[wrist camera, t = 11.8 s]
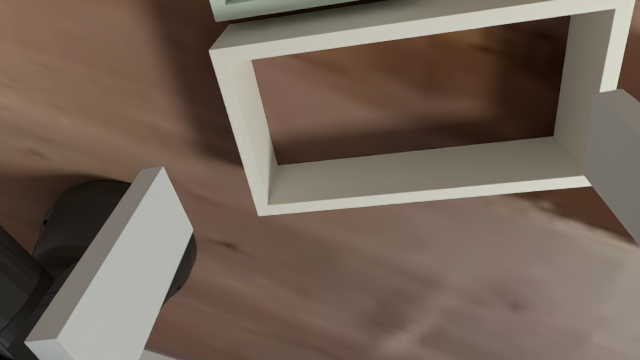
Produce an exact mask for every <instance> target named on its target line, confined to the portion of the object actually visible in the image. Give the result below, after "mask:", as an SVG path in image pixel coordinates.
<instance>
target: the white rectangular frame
mask: <svg viewBox="0 0 640 360" xmlns="http://www.w3.org/2000/svg"><path fill="white" fill-rule="evenodd" d="M634 4H635V0H386V1H380V2H373V3H367V4H360V5H354V6H347V7H340V8H334V9H327V10H321V11H314V12H308V13H301V14H294V15H288V16H281V17H275V18H268V19H262V20H255V21H248V22H242V23H235V24H229V25H228V26H227V28H226V29H225V30H224V31H223V33H222V34H221V35H220V37H219V38H218V39H217V40H216V42H215V43H214V44H213V45H212V47H211V48H210V49H209V53H210V57H211V60H212V63H213V67H214V70H215V73H216V77H217V80H218V83H219V87H220V90H221V93H222V97H223V100H224V103H225V106H226V110H227V113H228V116H229V120H230V123H231V126H232V130H233V133H234V136H235V140H236V143H237V146H238V150H239V153H240V156H241V160H242V163H243V166H244V170H245V173H246V176H247V180H248V183H249V186H250V190H251V193H252V196H253V199H254V203H255V206H256V209H257V213H258V216H265V215H276V214H287V213H298V212H309V211H320V210H331V209H342V208H353V207H364V206H375V205H386V204H397V203H408V202H419V201H430V200H441V199H452V198H463V197H474V196H485V195H496V194H507V193H518V192H529V191H540V190H551V189H562V188H573V187H584V186H592V185H591V184H590V182H589V181H588V180H587V179H586V177H585V176H584V175H583V169H584V161H585V152H586V144H587V136H588V128H589V120H590V112H591V104H592V95H593V94H594V93H600V92H606V91H612V90H616V87H617V83H618V78H619V74H620V69H621V64H622V60H623V55H624V50H625V46H626V41H627V36H628V32H629V27H630V22H631V18H632V13H633V8H634ZM566 15H571V18H570V25H569V32H568V39H567V46H566V53H565V60H564V67H563V74H562V81H561V88H560V95H559V102H558V109H557V116H556V123H555V130H554V136H551V137H542V138H533V139H523V140H514V141H504V142H495V143H485V144H476V145H466V146H457V147H448V148H438V149H429V150H419V151H410V152H400V153H391V154H382V155H372V156H363V157H353V158H344V159H334V160H325V161H316V162H306V163H297V164H287V165H277V161H276V157H275V153H274V149H273V145H272V141H271V137H270V133H269V129H268V125H267V121H266V117H265V113H264V110H263V106H262V102H261V98H260V94H259V90H258V86H257V82H256V78H255V74H254V70H253V66H252V62H251V60H252V59H259V58H267V57H274V56H281V55H288V54H295V53H302V52H309V51H316V50H324V49H331V48H338V47H345V46H352V45H359V44H366V43H374V42H381V41H388V40H395V39H402V38H409V37H416V36H424V35H431V34H438V33H445V32H452V31H459V30H466V29H473V28H481V27H488V26H495V25H502V24H509V23H516V22H523V21H531V20H538V19H545V18H552V17H559V16H566Z"/></svg>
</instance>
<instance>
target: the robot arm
mask: <svg viewBox="0 0 640 360" xmlns="http://www.w3.org/2000/svg"><path fill="white" fill-rule="evenodd" d="M583 175H584V176H585V177H586V179H587V180H588V181H589V182H590V184H591V185H592V186H593V188H594V189H595V190H596V191H597V193H598V194H599V195H600V196H601V198H602V199H603V200H604V201H605V203H606V204H607V205H608V207H609V208H610V209H611V210H612V212H613V213H614V214H615V215H616V217H617V218H618V219H619V220H620V222H621V223H622V224H623V226H624V227H625V228H626V229H627V231H628V232H629V233H630V234H631V236H632V237H633V238H634V239H635V241H636V242H637V243H638V245H639V246H640V102H638V101H637V100H636V99H635V98H633V97H632V96H631V95H629V94H628V93H627V92H626V91H624V90H623V89H618V90H612V91H606V92H600V93H594V94H593V95H592V104H591V112H590V120H589V128H588V136H587V144H586V152H585V161H584V169H583ZM192 232H193V228H192V226H191V224H190V221H189V219H188V217H187V215H186V213H185V211H184V209H183V207H182V205H181V203H180V201H179V198H178V196H177V194H176V192H175V190H174V188H173V186H172V184H171V182H170V180H169V178H168V176H167V173H166V171H165V169H164V167H163V166H161V167H155V168H149V169H143V170H141V171H140V173H139V174H138V176H137V177H136V179H135V180H134V182H133V183H132V184H131V185H130V184H126V183H122V182H115V181H92V182H86V183H82V184H79V185H77V186H74V187H72V188H70V189H69V190H67V191H66V192H65V193H63V194H62V195H61V196H60V197H59V199H58V200H57V201H56V202H55V203H54V204H53V205H52V207H51V208H50V209H49V210H48V212H47V213H46V215H45V217H44V219H43V221H42V224H41V228H40V238H39V239H38V241H37V243H36V245H35V248H34V251H33V253H32V255H30V254H29V253H28V252H27V251H26V250H25V249H24V248H23V247H22V246H21V245H20V244H19V243H18V242H17V241H16V240H15V239H14V238H13V237H12V236H11V235H10V234H9V233H8V232H7V231H6V230H5V229H4V228H3V227H2V226H1V225H0V360H139V358H140V356H141V353H142V351H143V348H144V346H145V344H146V341H147V339H148V337H149V334H150V332H151V330H152V327H153V325H154V322H155V320H156V318H157V315H158V313H159V311H160V309H161V308H162V307H163V306H164V304H165V303H166V302H167V301H168V299H169V298H170V297H172V296H173V295H175V294H176V293H177V292H178V291H179V290H180V289H181V288H182V287H183V285H184V284H185V283H186V281H187V279H188V277H189V275H190V273H191V270H192V268H193V265H194V263H195V259H196V254H197V248H196V241H195V238H194V235H193V233H192Z"/></svg>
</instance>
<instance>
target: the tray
mask: <svg viewBox="0 0 640 360" xmlns="http://www.w3.org/2000/svg"><path fill="white" fill-rule="evenodd" d="M209 1H210V4H211V8H212V11H213V15H214V18H215V22H220V21H227V20H233V19H240V18H246V17H253V16H259V15H266V14H272V13H279V12H285V11H292V10H298V9H305V8H311V7H318V6H324V5H331V4H337V3H344V2H350V1H357V0H209Z"/></svg>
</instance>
